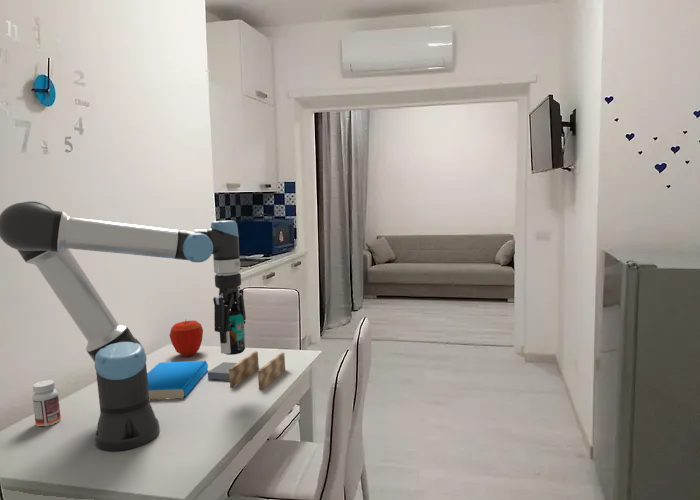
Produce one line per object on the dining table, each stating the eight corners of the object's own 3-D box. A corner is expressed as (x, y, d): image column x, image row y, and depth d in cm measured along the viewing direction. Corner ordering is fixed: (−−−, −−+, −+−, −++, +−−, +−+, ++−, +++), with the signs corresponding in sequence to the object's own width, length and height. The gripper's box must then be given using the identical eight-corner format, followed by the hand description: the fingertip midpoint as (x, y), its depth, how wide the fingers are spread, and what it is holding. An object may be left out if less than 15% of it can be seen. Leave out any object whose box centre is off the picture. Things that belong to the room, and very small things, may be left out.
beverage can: (216, 352, 158) (214, 313, 157) (236, 346, 163) (234, 308, 162) (230, 357, 153) (228, 316, 152) (250, 351, 159) (248, 311, 157)
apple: (197, 348, 212) (194, 313, 210) (210, 354, 202) (207, 318, 201) (166, 355, 204) (163, 319, 202) (178, 362, 195) (175, 324, 193)
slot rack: (261, 389, 164) (260, 370, 164) (230, 387, 167) (228, 368, 167) (285, 369, 181) (284, 352, 181) (256, 367, 185) (255, 351, 184)
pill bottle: (63, 416, 151) (59, 378, 150) (57, 425, 145) (52, 385, 144) (39, 419, 149) (35, 380, 148) (32, 429, 143) (27, 388, 142)
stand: (235, 381, 173) (234, 373, 172) (208, 379, 175) (207, 372, 175) (249, 370, 182) (249, 363, 182) (223, 369, 185) (223, 362, 185)
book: (128, 390, 160) (158, 361, 184) (130, 403, 160) (159, 373, 185) (185, 387, 160) (207, 359, 184) (186, 401, 160) (208, 371, 185)
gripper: (221, 279, 145) (226, 360, 148) (254, 268, 164) (258, 340, 167) (197, 278, 147) (203, 359, 150) (233, 268, 166) (237, 339, 169)
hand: (232, 349), depth 158 cm, fingers closed on beverage can, 7 cm apart
